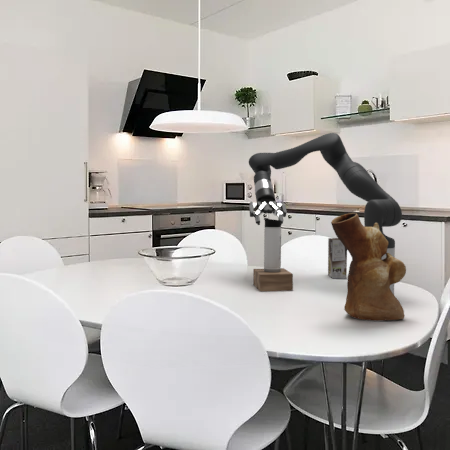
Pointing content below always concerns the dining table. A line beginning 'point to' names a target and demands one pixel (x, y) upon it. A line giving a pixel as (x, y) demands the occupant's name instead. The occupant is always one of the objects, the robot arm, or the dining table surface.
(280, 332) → the dining table surface
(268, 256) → the travel mug
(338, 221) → the ceramic vessel
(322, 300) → the dining table surface
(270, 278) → the walnut block
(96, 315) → the dining table surface
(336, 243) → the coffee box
